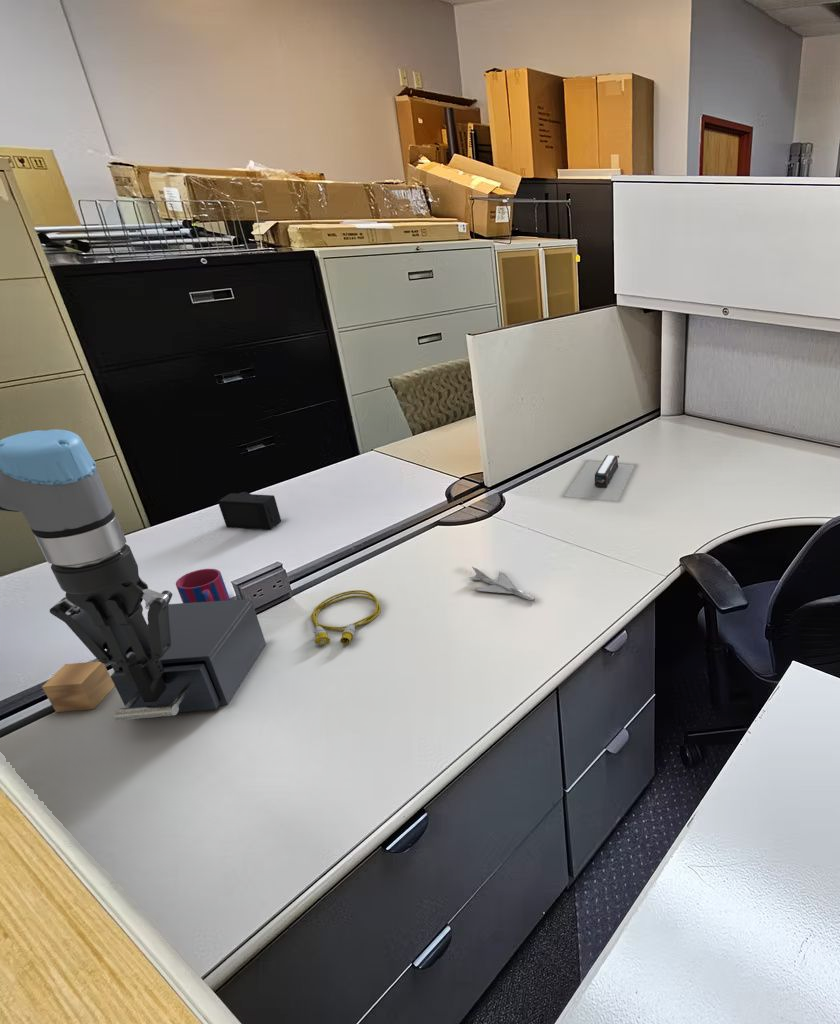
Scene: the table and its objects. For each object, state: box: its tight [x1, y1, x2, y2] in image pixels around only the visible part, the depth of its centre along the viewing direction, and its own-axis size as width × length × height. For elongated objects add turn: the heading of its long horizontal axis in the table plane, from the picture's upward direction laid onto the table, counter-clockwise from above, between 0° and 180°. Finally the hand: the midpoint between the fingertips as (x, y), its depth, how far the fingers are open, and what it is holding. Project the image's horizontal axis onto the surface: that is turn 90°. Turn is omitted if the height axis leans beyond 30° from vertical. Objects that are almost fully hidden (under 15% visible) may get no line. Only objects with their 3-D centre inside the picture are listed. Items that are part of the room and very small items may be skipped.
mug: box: [175, 568, 231, 603], centre depth 113 cm, size 7×10×7 cm
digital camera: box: [217, 491, 282, 531], centre depth 143 cm, size 10×5×7 cm, turn 89°
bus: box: [564, 454, 636, 502], centre depth 174 cm, size 14×25×4 cm, turn 173°
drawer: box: [110, 661, 220, 721], centre depth 94 cm, size 18×11×8 cm, turn 11°
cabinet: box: [110, 598, 267, 706], centre depth 98 cm, size 15×13×10 cm
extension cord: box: [310, 589, 381, 646], centre depth 114 cm, size 12×16×2 cm
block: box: [41, 660, 115, 713], centre depth 94 cm, size 5×5×5 cm
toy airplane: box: [465, 566, 536, 602], centre depth 126 cm, size 8×21×2 cm, turn 60°
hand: (155, 695), depth 88 cm, fingers closed
